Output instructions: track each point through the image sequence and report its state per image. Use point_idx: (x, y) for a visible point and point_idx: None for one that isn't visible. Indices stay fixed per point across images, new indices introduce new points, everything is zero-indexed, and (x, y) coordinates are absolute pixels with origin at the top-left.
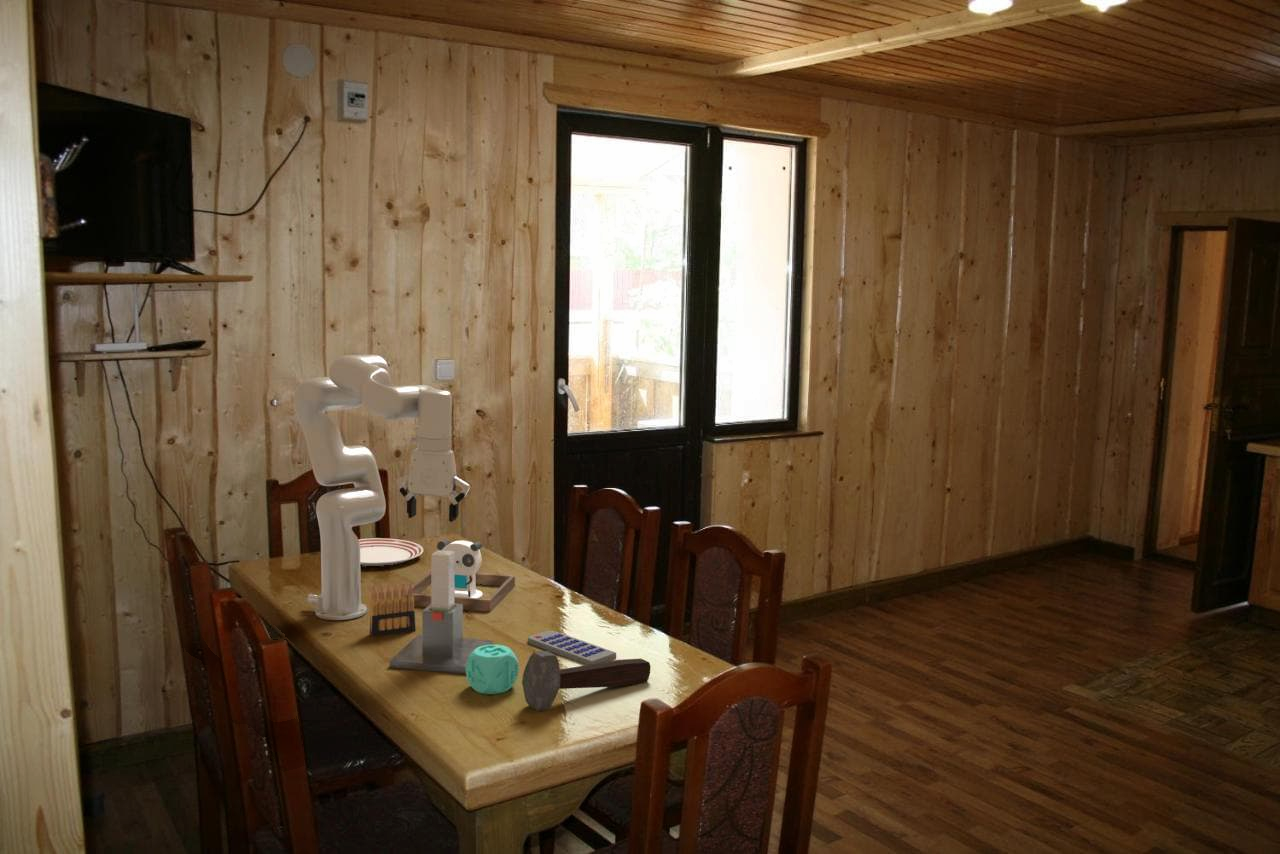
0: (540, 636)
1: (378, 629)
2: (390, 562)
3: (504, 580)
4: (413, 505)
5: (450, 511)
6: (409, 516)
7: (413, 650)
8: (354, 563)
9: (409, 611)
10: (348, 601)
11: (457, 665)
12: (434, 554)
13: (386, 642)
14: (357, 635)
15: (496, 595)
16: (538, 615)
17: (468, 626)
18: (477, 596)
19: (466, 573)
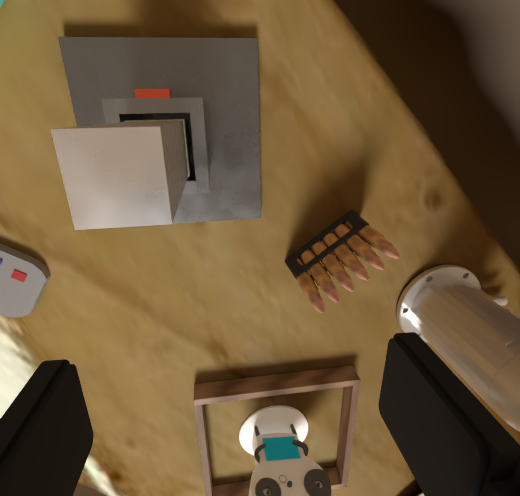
0: (14, 277)
1: (346, 226)
2: (420, 494)
3: (223, 494)
4: (436, 442)
5: (5, 432)
6: (409, 335)
7: (233, 120)
8: (481, 359)
9: (303, 271)
10: (437, 300)
11: (91, 44)
12: (144, 133)
13: (314, 187)
14: (378, 208)
15: (197, 427)
16: (103, 394)
17: (200, 309)
18: (244, 432)
19: (267, 465)
